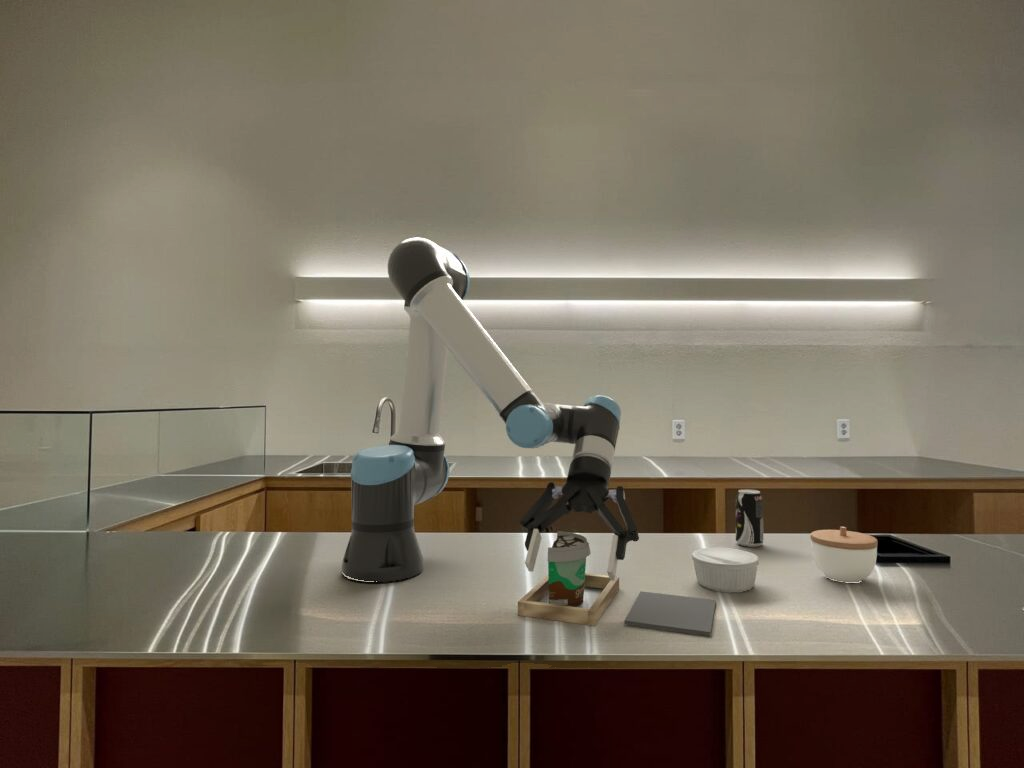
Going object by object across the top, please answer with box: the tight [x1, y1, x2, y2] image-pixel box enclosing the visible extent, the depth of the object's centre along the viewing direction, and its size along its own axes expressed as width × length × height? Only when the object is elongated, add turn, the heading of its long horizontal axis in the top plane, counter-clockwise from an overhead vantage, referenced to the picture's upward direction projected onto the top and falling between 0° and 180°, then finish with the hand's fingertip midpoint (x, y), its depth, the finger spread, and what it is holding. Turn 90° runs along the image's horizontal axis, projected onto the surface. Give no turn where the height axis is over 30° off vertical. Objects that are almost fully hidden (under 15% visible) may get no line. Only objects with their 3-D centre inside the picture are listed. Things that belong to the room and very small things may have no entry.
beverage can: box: [734, 488, 764, 548], centre depth 136 cm, size 6×6×12 cm
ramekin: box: [691, 546, 760, 593], centre depth 108 cm, size 11×11×5 cm
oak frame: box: [517, 572, 620, 627], centre depth 100 cm, size 12×18×2 cm, turn 159°
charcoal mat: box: [624, 590, 717, 637], centre depth 94 cm, size 12×14×1 cm
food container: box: [547, 530, 591, 607], centre depth 100 cm, size 12×6×10 cm, turn 168°
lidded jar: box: [810, 526, 879, 582], centre depth 111 cm, size 11×11×9 cm
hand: (568, 571), depth 98 cm, fingers open, 13 cm apart
